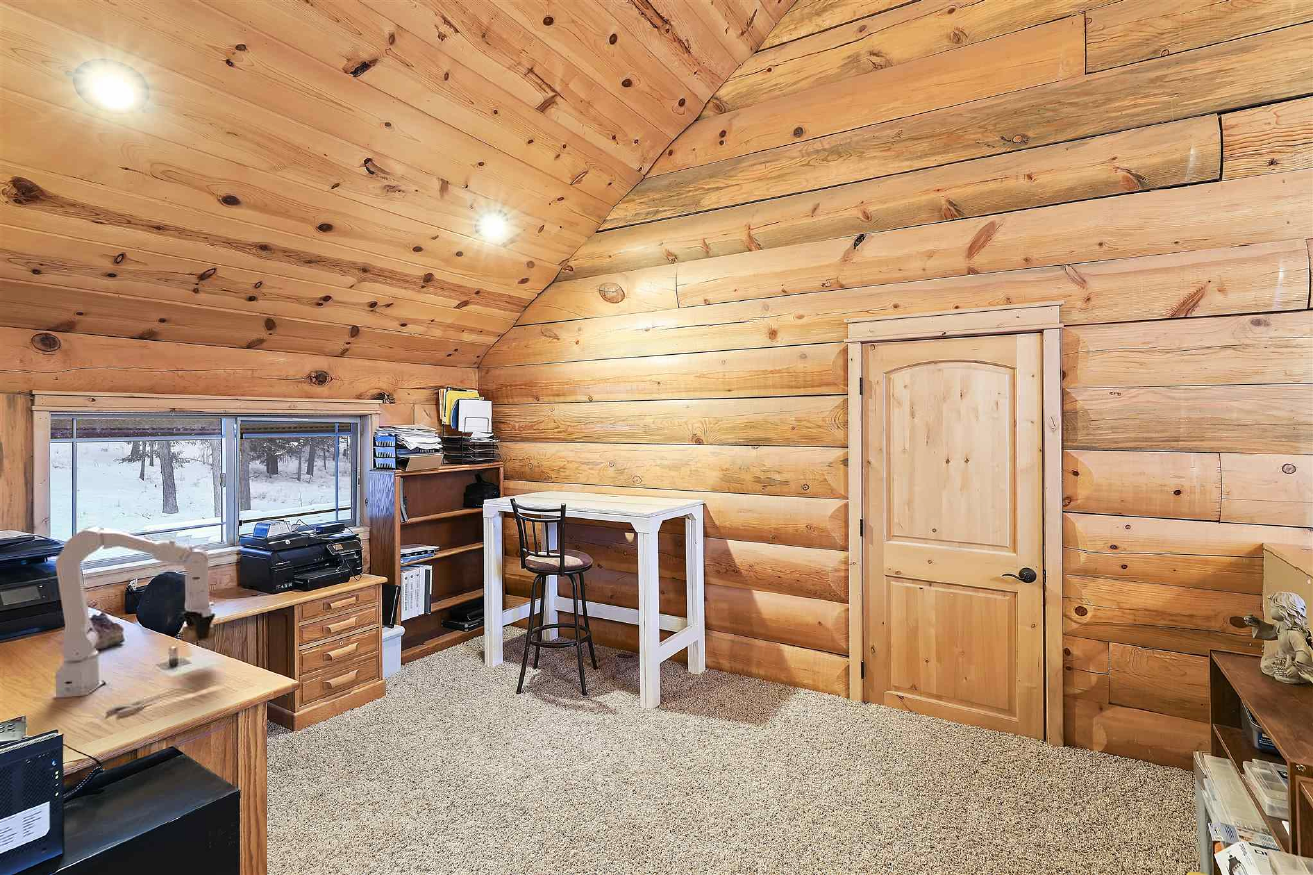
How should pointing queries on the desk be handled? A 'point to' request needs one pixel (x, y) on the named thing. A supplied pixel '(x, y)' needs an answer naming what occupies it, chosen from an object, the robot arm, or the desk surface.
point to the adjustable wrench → (137, 704)
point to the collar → (195, 633)
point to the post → (173, 660)
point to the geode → (107, 631)
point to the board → (190, 665)
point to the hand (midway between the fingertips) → (198, 636)
